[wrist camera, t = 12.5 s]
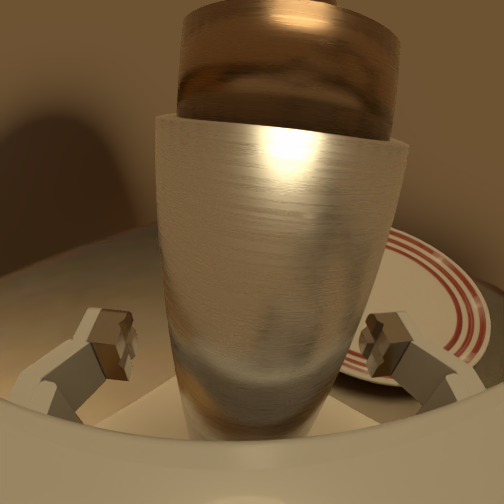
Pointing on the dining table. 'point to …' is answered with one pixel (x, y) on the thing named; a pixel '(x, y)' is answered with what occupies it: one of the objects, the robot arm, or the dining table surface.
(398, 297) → the dinner plate
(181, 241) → the pepper mill
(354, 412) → the serving tile
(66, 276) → the dining table surface
